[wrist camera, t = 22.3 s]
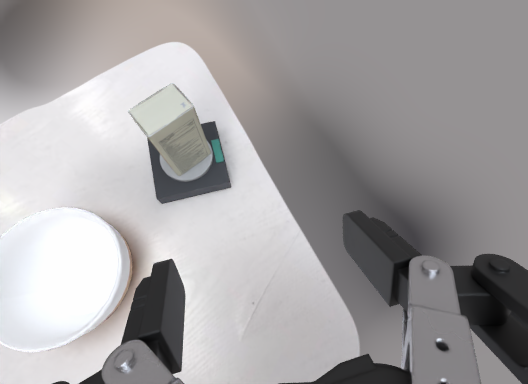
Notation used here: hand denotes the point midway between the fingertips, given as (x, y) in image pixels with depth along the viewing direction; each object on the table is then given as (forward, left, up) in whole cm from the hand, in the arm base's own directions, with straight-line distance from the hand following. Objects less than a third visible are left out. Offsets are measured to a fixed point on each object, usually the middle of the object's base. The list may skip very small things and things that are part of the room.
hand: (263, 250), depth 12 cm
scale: (+6, -19, -29) cm, 35 cm away
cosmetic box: (+6, -19, -25) cm, 32 cm away
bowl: (+23, -6, -29) cm, 37 cm away
